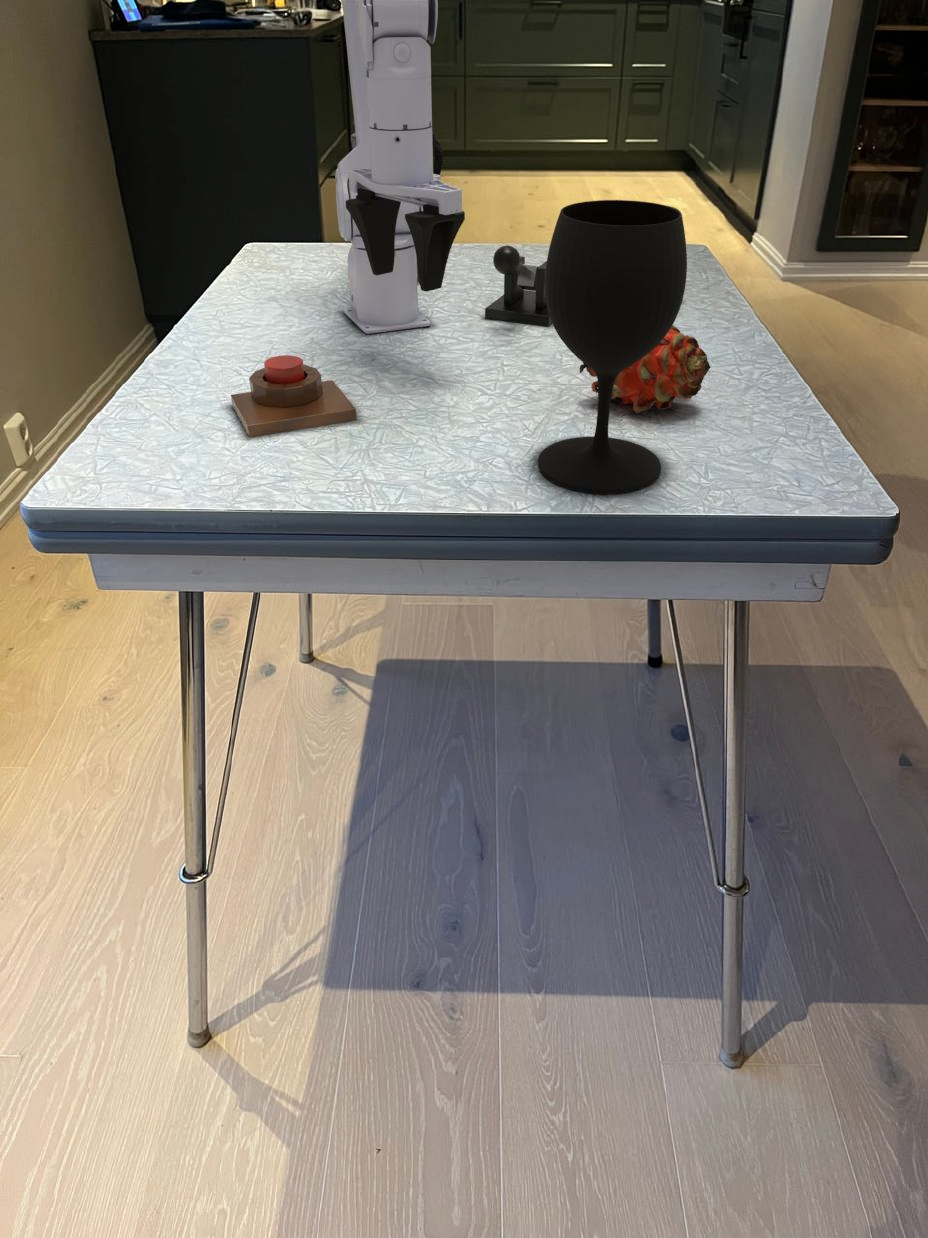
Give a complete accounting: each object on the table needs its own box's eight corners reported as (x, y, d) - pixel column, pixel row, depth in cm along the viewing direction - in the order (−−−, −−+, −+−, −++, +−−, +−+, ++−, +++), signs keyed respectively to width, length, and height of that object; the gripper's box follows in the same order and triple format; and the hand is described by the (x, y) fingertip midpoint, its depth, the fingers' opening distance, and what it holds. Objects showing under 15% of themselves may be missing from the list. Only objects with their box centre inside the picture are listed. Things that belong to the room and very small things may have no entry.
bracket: (548, 326, 110) (550, 275, 106) (484, 318, 112) (485, 268, 109) (571, 305, 116) (574, 256, 113) (511, 297, 119) (512, 249, 116)
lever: (513, 272, 102) (517, 243, 102) (487, 269, 103) (492, 240, 102) (543, 294, 113) (547, 268, 113) (519, 291, 114) (524, 266, 114)
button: (270, 388, 87) (268, 370, 86) (262, 375, 89) (260, 357, 88) (309, 383, 88) (307, 365, 87) (299, 370, 91) (297, 352, 90)
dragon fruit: (711, 429, 89) (584, 436, 92) (710, 353, 92) (587, 362, 95) (711, 378, 81) (573, 388, 84) (710, 296, 84) (576, 308, 87)
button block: (249, 438, 84) (244, 406, 82) (229, 401, 91) (225, 371, 89) (357, 421, 87) (354, 390, 85) (330, 387, 94) (327, 357, 92)
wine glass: (516, 452, 81) (523, 204, 70) (620, 432, 85) (643, 192, 73) (574, 504, 73) (593, 234, 62) (686, 480, 77) (724, 220, 65)
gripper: (487, 130, 83) (486, 288, 90) (386, 114, 92) (393, 259, 99) (425, 138, 79) (429, 302, 87) (326, 121, 88) (338, 271, 96)
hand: (406, 280), depth 93 cm, fingers open, 7 cm apart
